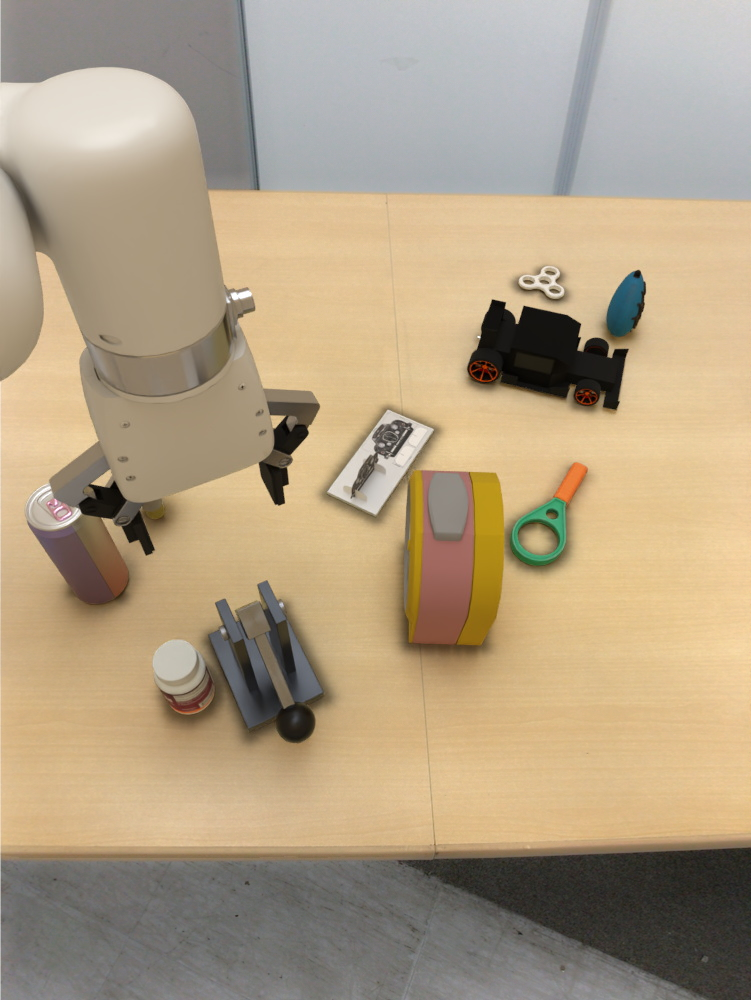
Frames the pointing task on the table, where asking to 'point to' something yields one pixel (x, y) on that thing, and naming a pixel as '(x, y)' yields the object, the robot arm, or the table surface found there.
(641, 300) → the ornament
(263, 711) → the switch bracket
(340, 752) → the table surface
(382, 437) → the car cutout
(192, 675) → the pill bottle
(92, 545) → the beverage can
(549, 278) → the fidget spinner
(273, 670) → the switch lever
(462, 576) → the alarm clock
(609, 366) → the toy race car
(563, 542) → the magnifying glass
